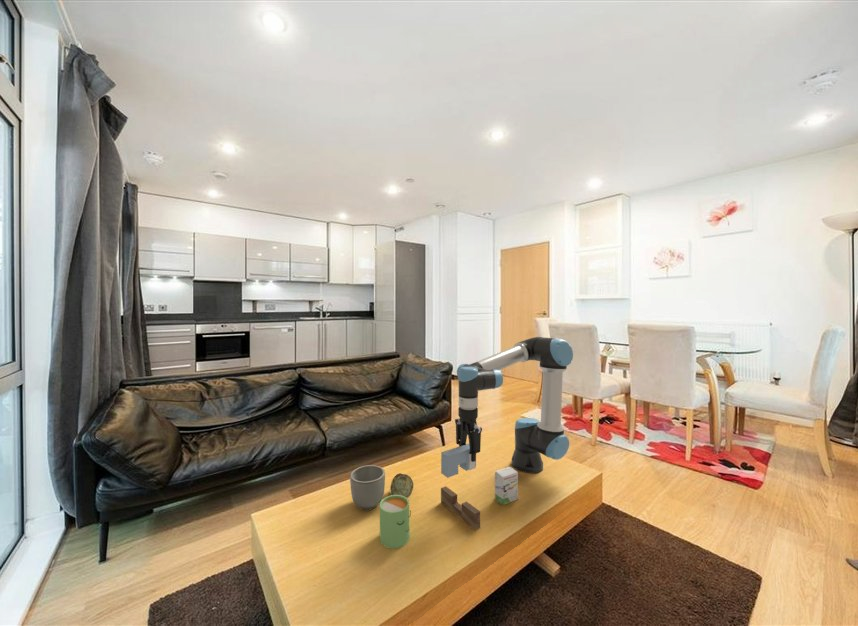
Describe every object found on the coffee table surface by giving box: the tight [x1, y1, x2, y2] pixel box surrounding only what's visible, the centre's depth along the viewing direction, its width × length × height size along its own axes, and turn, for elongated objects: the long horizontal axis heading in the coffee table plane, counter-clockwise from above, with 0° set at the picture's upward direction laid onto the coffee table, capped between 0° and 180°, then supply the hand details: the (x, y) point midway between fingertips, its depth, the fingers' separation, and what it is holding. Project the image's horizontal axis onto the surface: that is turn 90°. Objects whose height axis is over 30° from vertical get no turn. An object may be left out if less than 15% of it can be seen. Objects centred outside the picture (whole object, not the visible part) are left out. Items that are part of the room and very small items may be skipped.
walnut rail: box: [440, 485, 481, 531], centre depth 124 cm, size 2×20×6 cm, turn 35°
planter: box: [349, 464, 386, 511], centre depth 131 cm, size 14×14×13 cm
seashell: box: [389, 472, 414, 499], centre depth 136 cm, size 11×11×10 cm
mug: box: [379, 494, 412, 549], centre depth 113 cm, size 13×10×12 cm
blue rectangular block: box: [440, 443, 477, 479], centre depth 125 cm, size 14×4×8 cm, turn 125°
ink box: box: [494, 466, 519, 506], centre depth 134 cm, size 8×5×12 cm, turn 118°
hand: (467, 466), depth 127 cm, fingers closed on blue rectangular block, 4 cm apart
